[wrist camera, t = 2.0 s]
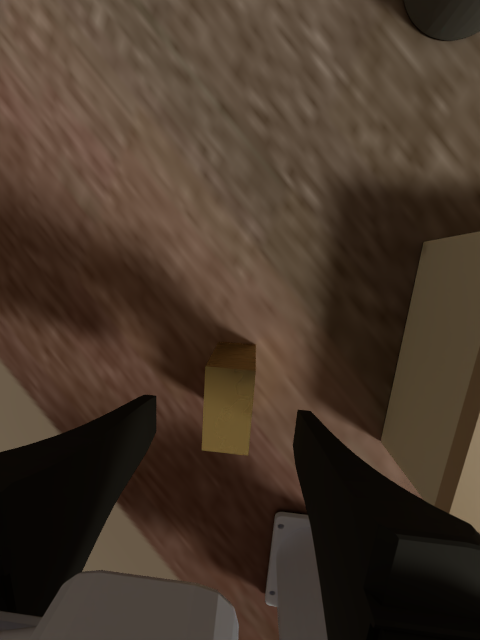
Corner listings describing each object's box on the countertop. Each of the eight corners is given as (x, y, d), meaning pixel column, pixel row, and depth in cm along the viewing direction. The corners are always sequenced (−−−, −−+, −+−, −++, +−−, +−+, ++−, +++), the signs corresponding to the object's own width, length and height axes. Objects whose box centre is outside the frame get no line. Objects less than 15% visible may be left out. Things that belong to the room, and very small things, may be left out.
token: (250, 408, 18) (248, 455, 13) (215, 405, 18) (201, 450, 13) (255, 344, 17) (255, 371, 12) (218, 341, 17) (205, 366, 12)
